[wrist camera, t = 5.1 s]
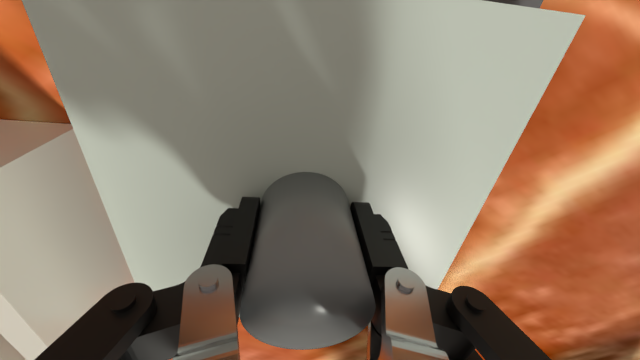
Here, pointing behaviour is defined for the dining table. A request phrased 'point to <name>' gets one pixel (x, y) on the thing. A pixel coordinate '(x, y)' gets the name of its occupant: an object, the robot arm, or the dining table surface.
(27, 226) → the grey open square box
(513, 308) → the dining table surface
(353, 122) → the lid
